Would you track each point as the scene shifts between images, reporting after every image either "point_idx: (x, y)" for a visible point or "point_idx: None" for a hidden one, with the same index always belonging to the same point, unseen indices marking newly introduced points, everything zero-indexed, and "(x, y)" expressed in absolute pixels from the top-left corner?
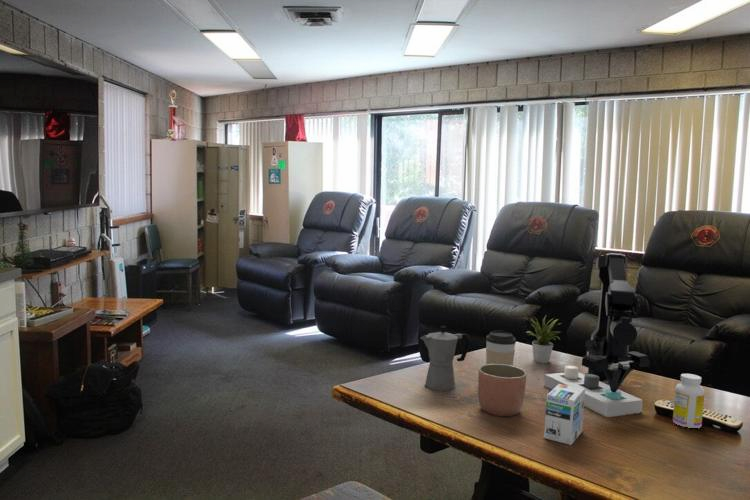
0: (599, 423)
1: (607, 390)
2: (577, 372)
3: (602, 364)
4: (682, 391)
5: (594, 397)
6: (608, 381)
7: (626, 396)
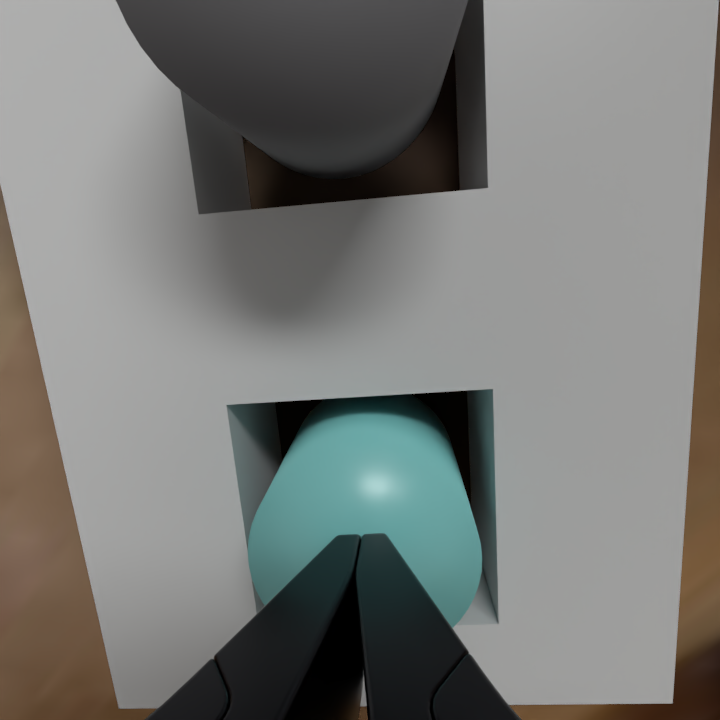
0: (46, 680)
1: (298, 501)
2: None
3: None
4: None
5: (84, 495)
6: (243, 636)
7: (561, 558)
